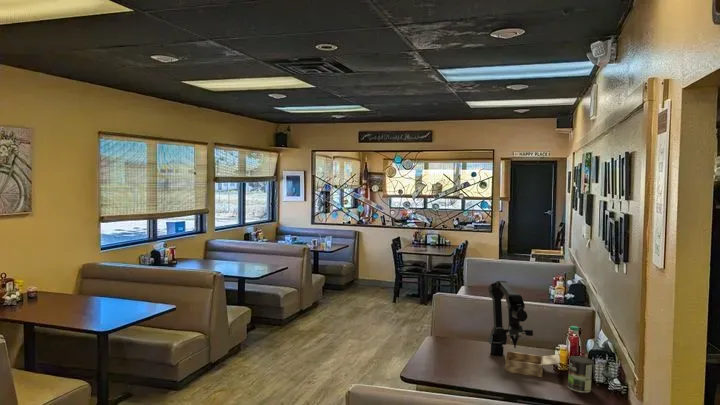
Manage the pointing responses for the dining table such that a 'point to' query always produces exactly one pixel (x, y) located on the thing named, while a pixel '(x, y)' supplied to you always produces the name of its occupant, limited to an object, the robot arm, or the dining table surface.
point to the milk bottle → (575, 330)
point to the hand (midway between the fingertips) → (515, 347)
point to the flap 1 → (508, 348)
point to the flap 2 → (551, 360)
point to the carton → (524, 364)
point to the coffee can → (580, 374)
